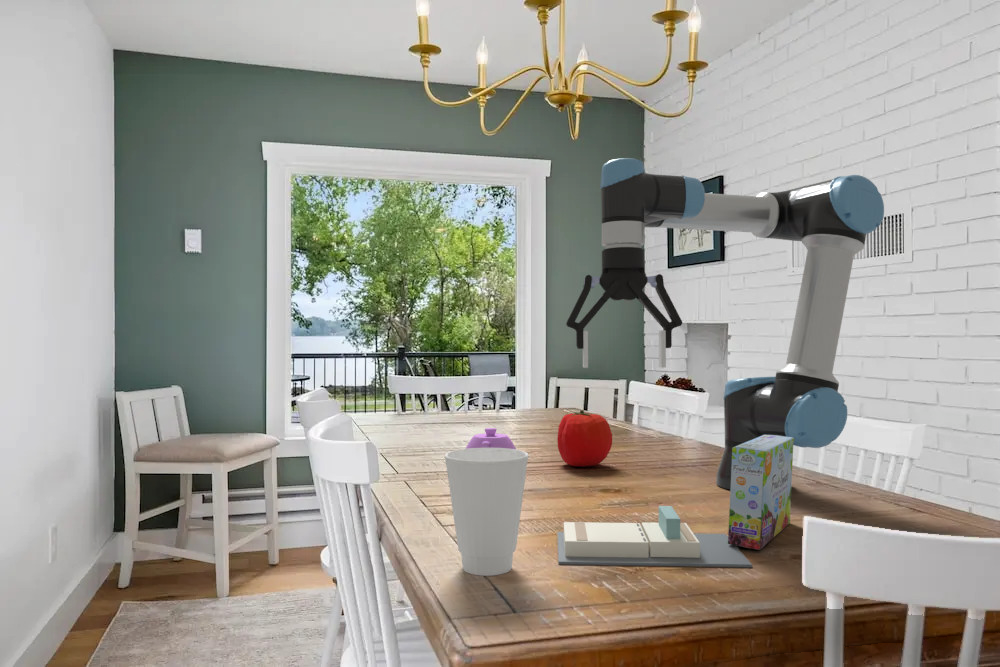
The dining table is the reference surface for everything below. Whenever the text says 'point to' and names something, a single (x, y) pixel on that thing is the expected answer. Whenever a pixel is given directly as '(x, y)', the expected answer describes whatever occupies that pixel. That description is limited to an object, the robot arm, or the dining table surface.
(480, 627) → the dining table surface
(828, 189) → the robot arm
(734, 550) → the board
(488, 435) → the teapot
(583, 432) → the tomato
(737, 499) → the snack box
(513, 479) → the cup
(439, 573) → the dining table surface
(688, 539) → the stub
